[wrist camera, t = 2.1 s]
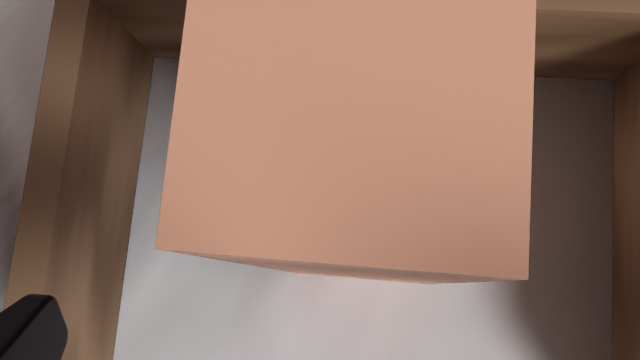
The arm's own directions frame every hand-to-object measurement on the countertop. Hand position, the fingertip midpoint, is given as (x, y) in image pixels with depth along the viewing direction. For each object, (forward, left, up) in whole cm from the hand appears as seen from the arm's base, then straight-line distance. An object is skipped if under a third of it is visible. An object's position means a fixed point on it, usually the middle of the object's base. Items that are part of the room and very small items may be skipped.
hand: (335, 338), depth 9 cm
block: (+3, 0, -11) cm, 11 cm away
